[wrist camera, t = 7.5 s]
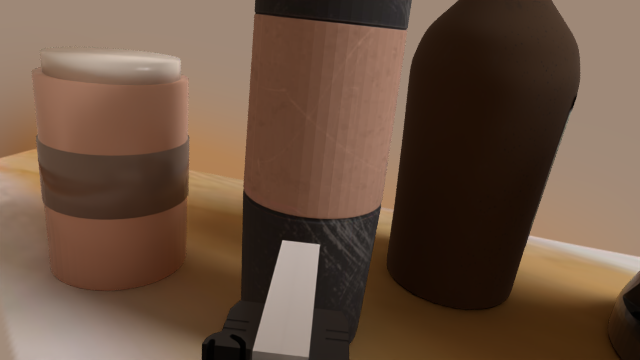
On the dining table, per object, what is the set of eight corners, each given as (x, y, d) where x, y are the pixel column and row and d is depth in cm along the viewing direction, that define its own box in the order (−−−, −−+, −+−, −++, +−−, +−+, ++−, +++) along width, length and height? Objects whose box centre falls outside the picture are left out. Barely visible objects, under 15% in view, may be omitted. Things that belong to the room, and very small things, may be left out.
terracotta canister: (168, 221, 40) (168, 50, 35) (204, 274, 33) (210, 68, 28) (44, 238, 35) (24, 42, 30) (54, 304, 28) (31, 61, 23)
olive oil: (394, 312, 31) (475, -127, 22) (368, 239, 41) (417, -83, 32) (547, 320, 32) (678, -97, 23) (484, 247, 42) (561, -64, 33)
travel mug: (344, 286, 33) (386, -19, 26) (377, 361, 26) (446, -28, 19) (234, 288, 31) (250, -36, 25) (238, 369, 24) (262, -54, 18)
